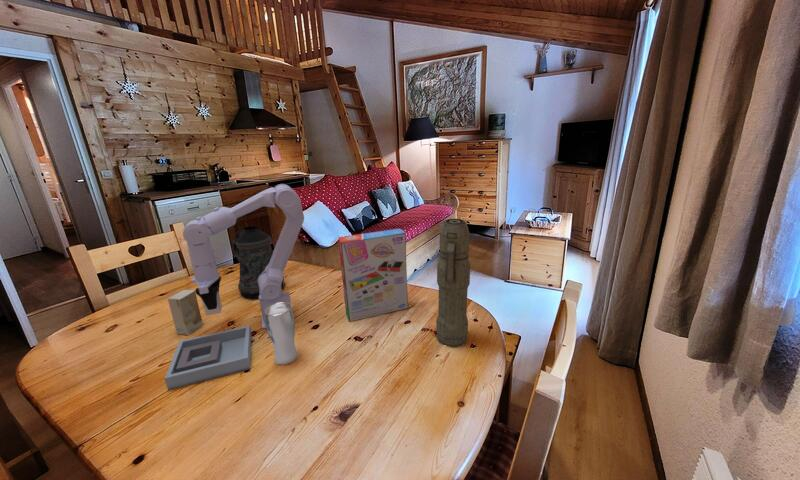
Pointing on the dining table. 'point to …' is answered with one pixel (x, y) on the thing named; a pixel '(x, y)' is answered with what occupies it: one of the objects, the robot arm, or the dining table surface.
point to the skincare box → (185, 312)
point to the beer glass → (281, 332)
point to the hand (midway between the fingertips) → (213, 305)
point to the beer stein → (252, 259)
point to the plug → (213, 311)
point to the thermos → (453, 283)
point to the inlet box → (210, 357)
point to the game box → (374, 273)
